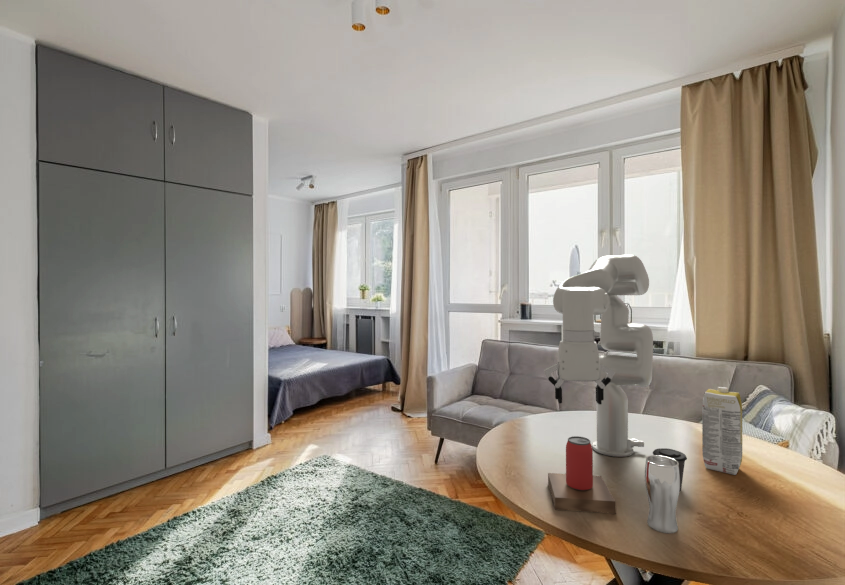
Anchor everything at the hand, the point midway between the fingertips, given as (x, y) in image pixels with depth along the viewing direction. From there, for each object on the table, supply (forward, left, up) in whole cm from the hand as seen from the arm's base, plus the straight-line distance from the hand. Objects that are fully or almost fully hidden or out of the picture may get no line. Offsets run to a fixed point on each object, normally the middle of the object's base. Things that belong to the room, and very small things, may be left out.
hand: (579, 402), depth 111 cm
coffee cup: (-25, -9, -25) cm, 36 cm away
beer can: (0, 0, -22) cm, 22 cm away
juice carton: (-45, -24, -25) cm, 57 cm away
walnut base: (0, 0, -25) cm, 25 cm away
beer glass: (-16, +11, -25) cm, 32 cm away
